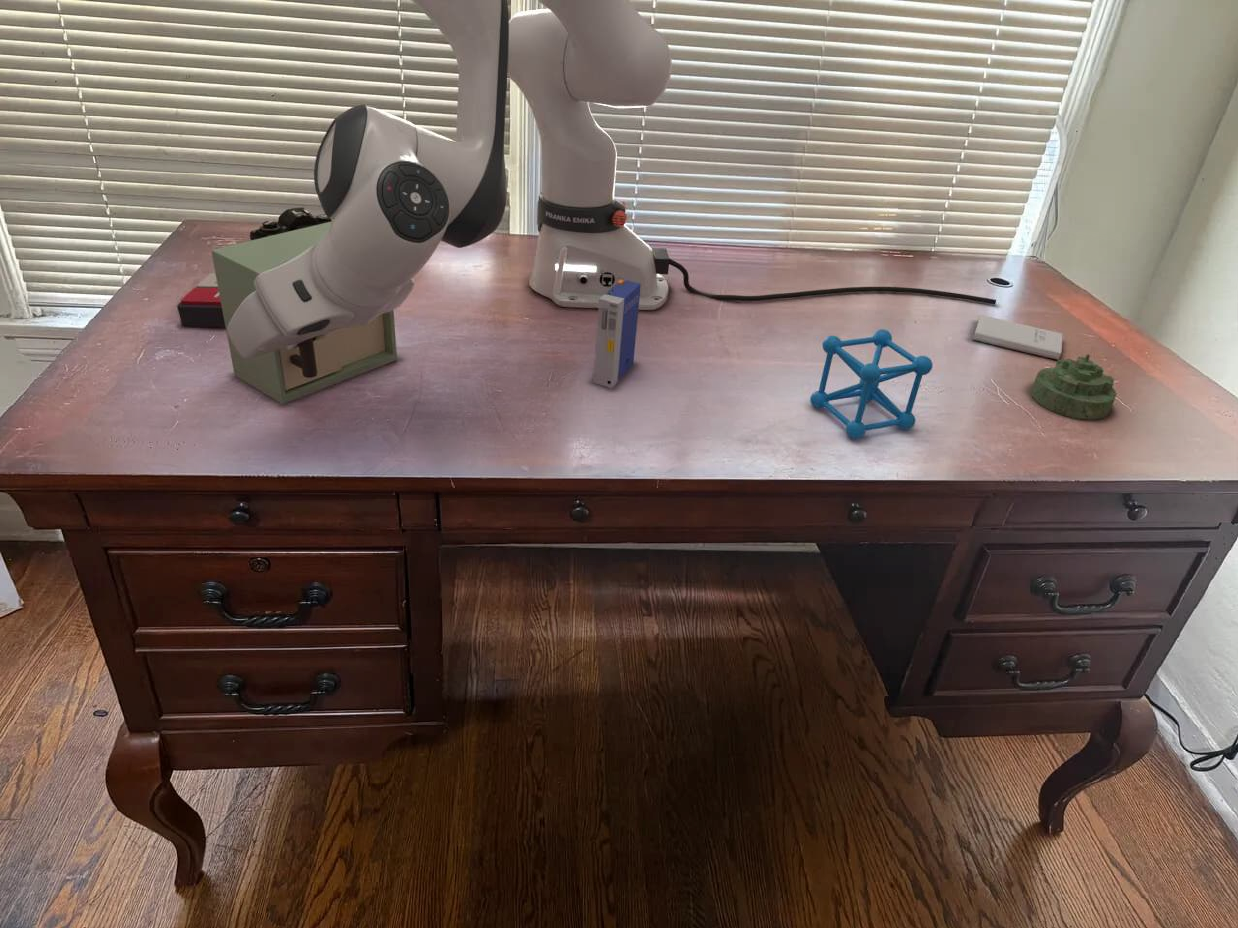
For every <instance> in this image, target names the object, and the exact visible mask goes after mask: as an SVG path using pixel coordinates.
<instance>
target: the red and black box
mask: <svg viewBox="0 0 1238 928" xmlns="http://www.w3.org/2000/svg"><path fill="white" fill-rule="evenodd" d="M176 307H177V312H178V315H179V319H180V323H181V326H182V327H199V328H200V327H201V328H203V327H205V328H226V327H225V321H224V316H223V311H222V305H221V300H220V295H219V290H218V284H217V279H216V274H215V273H209V274H207V275H206V276H205V277H204V278H203V279H202V280H201V281H199V282H198V283H197V284H196V287H193V288H192V289H191V290H190V291H189V292H188V293H186V295H184V297H182V298H181V300H180V302H179V303H178V304H177V305H176Z"/></svg>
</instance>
